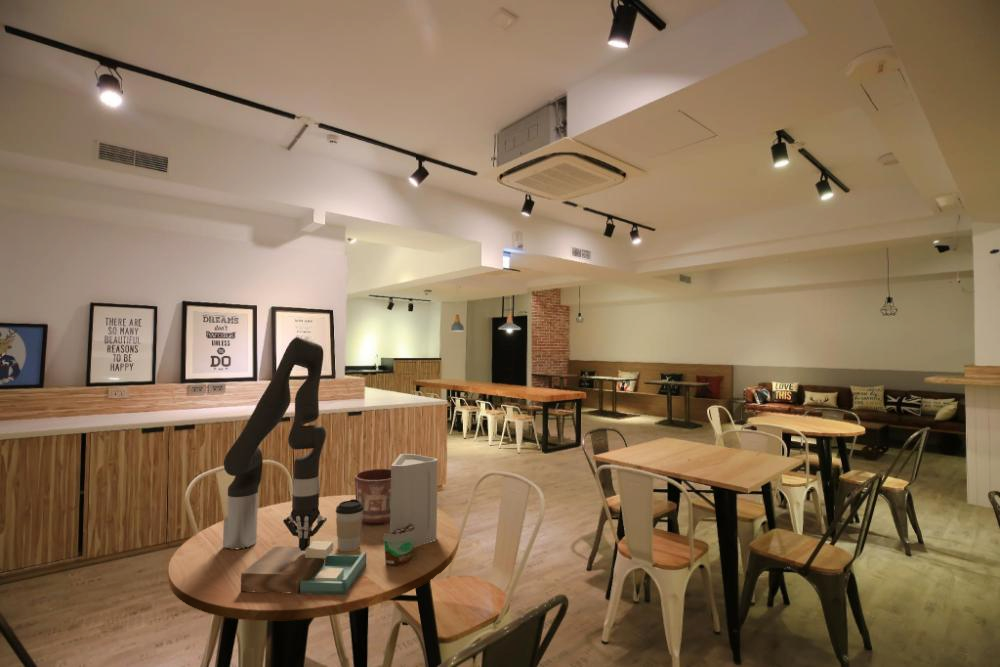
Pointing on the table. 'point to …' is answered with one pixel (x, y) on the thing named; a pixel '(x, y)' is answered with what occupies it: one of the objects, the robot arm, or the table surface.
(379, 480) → the pottery
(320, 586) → the tray
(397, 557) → the food container
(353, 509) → the coffee cup
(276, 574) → the walnut board
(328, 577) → the tile
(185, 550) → the table surface
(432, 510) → the white wifi router
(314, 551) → the tile
